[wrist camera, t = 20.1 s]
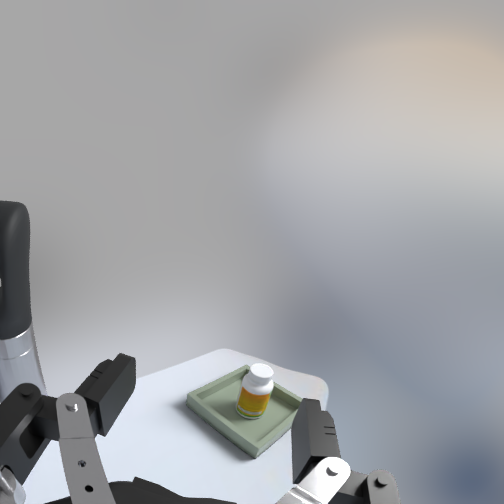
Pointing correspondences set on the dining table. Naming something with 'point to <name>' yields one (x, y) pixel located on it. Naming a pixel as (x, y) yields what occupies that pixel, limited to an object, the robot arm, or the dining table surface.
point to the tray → (236, 426)
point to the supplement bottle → (255, 391)
